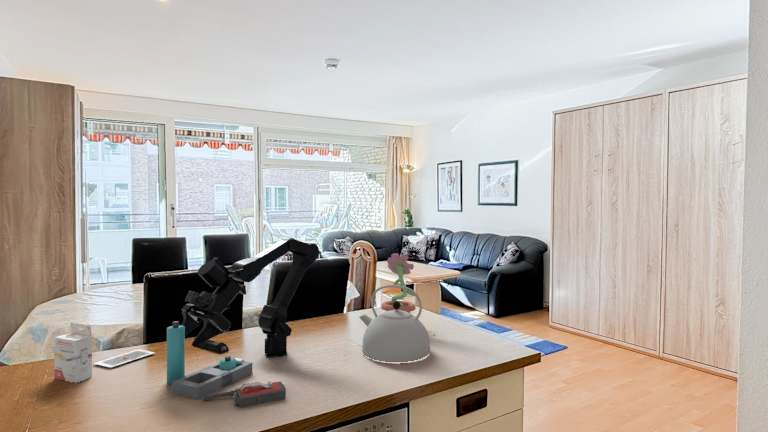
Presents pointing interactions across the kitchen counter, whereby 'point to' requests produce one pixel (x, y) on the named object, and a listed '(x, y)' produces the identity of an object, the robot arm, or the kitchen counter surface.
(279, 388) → the walkie-talkie
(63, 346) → the ink cartridge box
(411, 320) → the kettle
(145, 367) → the kitchen counter surface
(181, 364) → the plug
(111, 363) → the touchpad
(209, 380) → the grey holder base
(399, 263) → the decorative flower
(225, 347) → the electric trimmer
